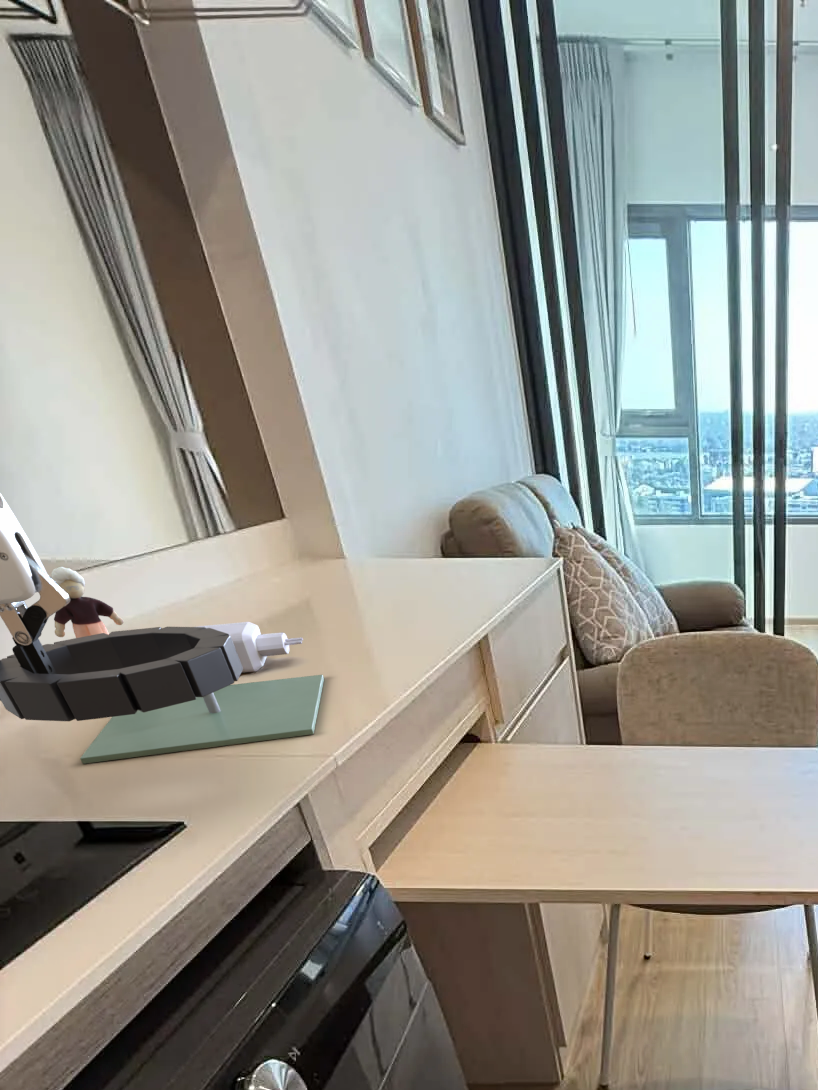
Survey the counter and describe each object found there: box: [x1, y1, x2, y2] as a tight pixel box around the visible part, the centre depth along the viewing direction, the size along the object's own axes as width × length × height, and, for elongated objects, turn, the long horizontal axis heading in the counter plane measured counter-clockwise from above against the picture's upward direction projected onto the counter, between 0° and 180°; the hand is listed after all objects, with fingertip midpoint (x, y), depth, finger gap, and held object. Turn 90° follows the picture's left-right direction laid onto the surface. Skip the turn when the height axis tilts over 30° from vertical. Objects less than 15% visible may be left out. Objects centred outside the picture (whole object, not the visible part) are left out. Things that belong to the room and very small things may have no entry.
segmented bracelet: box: [0, 626, 243, 722], centre depth 74 cm, size 18×18×3 cm
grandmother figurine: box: [50, 566, 124, 638], centre depth 108 cm, size 8×4×13 cm, turn 148°
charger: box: [197, 621, 304, 674], centre depth 112 cm, size 5×9×15 cm
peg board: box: [79, 674, 325, 765], centre depth 96 cm, size 22×22×4 cm
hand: (26, 692), depth 72 cm, fingers closed on segmented bracelet, 2 cm apart
